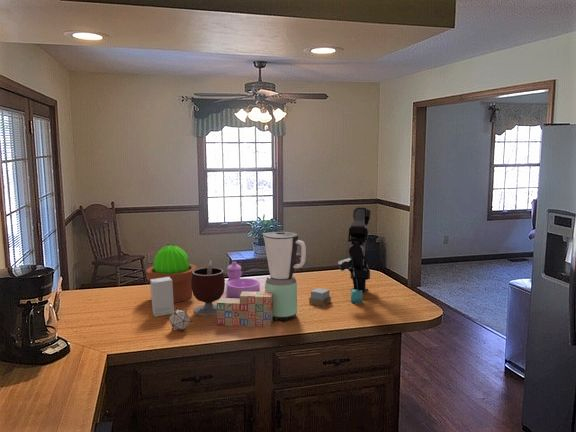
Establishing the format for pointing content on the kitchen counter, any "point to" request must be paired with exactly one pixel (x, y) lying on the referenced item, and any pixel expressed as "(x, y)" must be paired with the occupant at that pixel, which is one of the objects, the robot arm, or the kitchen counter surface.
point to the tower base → (319, 301)
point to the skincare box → (162, 296)
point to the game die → (179, 319)
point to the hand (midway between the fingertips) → (356, 287)
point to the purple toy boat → (239, 282)
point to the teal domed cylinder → (356, 296)
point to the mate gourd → (207, 288)
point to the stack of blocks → (246, 310)
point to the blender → (283, 271)
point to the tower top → (320, 293)
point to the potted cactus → (173, 270)
